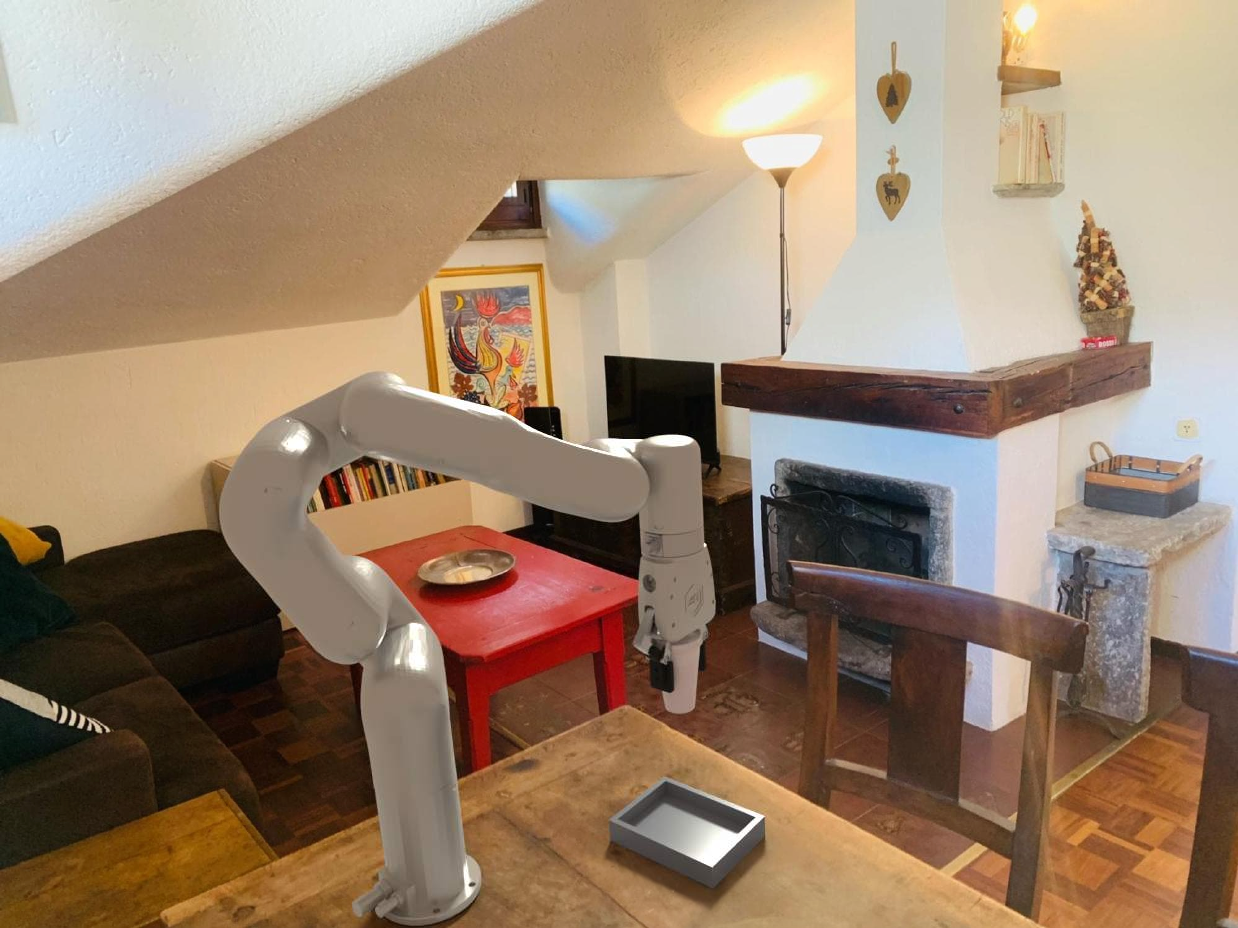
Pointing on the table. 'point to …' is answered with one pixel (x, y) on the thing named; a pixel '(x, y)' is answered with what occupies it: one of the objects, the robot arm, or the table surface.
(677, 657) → the smoothie
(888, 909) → the table surface
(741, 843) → the grey tray
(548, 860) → the table surface
